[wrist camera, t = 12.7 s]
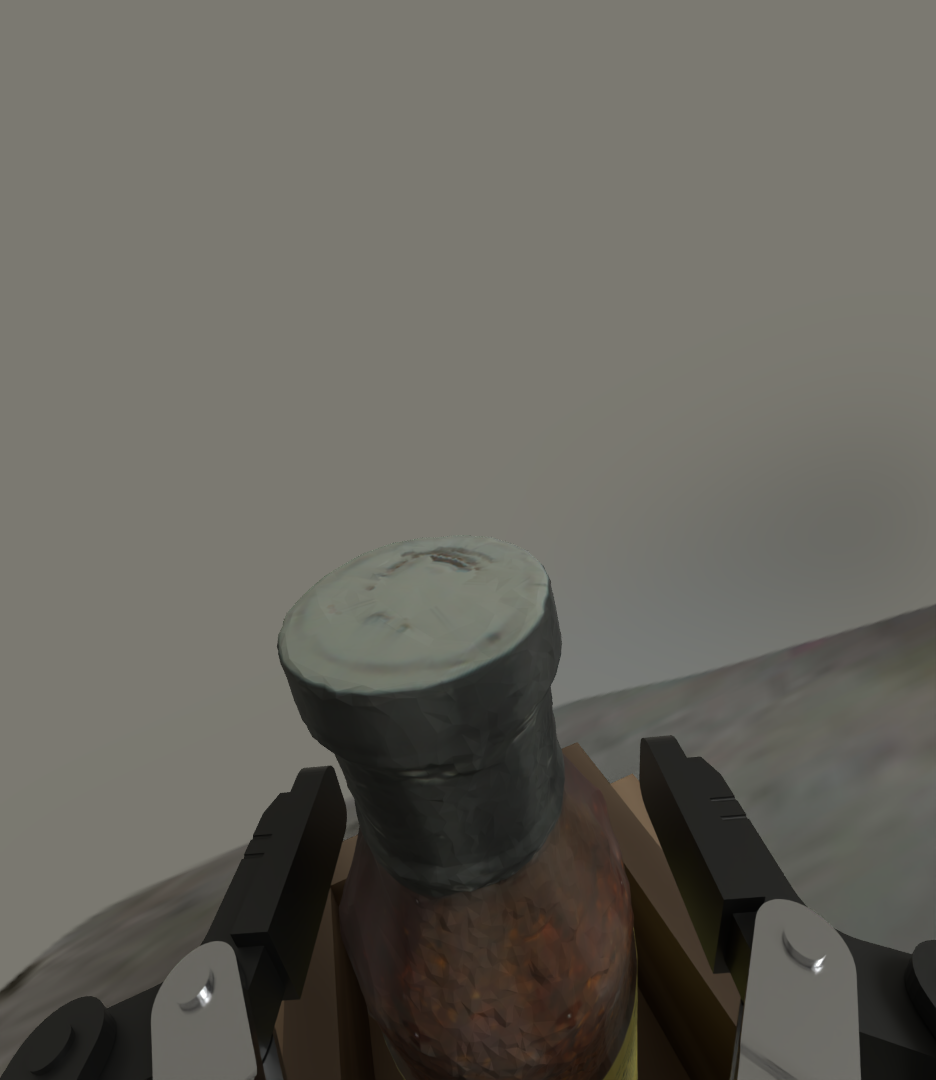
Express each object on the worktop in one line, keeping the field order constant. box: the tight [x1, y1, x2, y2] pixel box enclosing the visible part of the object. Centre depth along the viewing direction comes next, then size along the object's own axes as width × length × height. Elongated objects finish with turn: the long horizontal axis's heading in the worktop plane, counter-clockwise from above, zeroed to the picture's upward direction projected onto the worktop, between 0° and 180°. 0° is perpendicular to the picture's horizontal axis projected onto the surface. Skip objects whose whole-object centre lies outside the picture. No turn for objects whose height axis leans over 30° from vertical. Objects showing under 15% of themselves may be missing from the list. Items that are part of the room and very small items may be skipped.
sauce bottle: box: [277, 536, 638, 1080], centre depth 11 cm, size 6×6×20 cm
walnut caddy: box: [275, 743, 741, 1080], centre depth 14 cm, size 22×16×8 cm
